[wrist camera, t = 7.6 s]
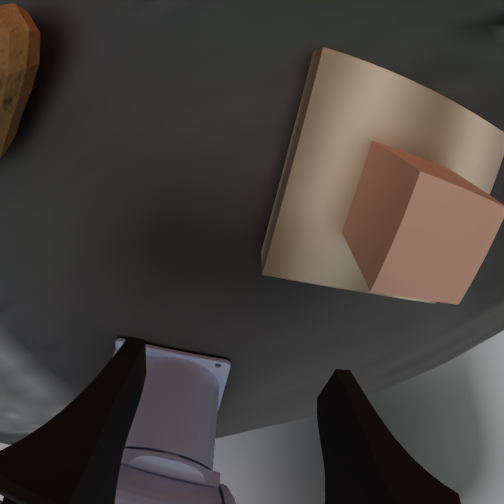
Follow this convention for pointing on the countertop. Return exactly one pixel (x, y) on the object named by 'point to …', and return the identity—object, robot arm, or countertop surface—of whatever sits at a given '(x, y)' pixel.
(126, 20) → the countertop surface
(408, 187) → the cube
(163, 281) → the countertop surface
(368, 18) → the countertop surface
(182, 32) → the countertop surface
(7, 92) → the potato
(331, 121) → the pedestal
